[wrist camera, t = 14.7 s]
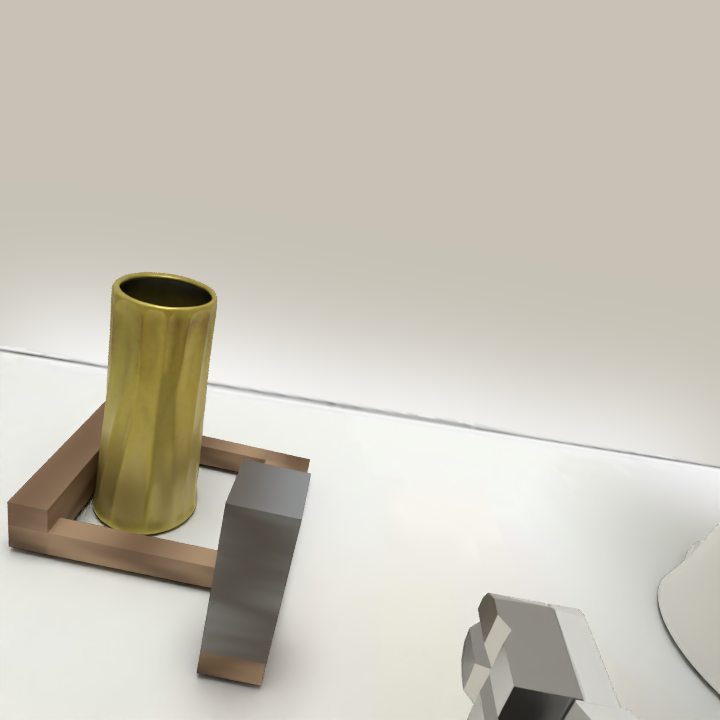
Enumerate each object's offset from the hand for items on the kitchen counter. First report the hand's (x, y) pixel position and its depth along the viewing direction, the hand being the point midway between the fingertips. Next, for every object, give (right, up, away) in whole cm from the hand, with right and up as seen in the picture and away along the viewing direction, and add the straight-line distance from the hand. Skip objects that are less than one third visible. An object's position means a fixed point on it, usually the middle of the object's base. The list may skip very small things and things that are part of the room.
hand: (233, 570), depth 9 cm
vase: (-11, -6, +26) cm, 29 cm away
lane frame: (-9, -7, +24) cm, 26 cm away
